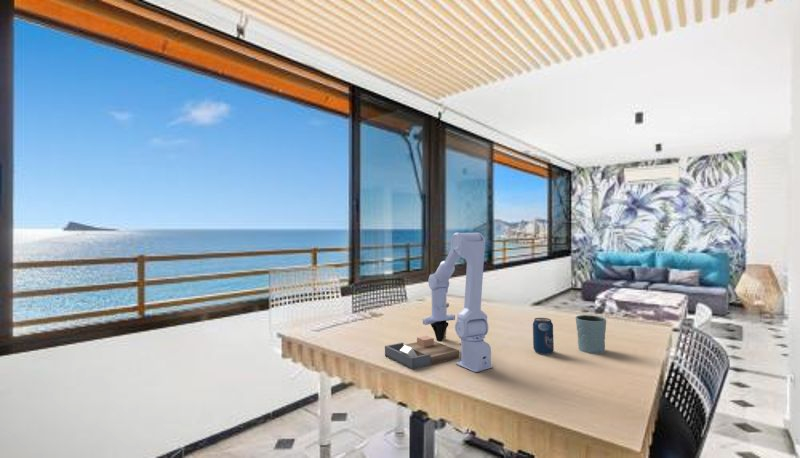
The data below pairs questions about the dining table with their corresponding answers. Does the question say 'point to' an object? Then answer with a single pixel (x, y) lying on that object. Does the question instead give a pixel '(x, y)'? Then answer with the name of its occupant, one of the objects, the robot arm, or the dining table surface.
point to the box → (406, 357)
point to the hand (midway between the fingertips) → (439, 341)
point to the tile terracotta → (425, 341)
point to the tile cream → (408, 351)
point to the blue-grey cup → (591, 333)
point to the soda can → (543, 336)
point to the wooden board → (435, 352)
